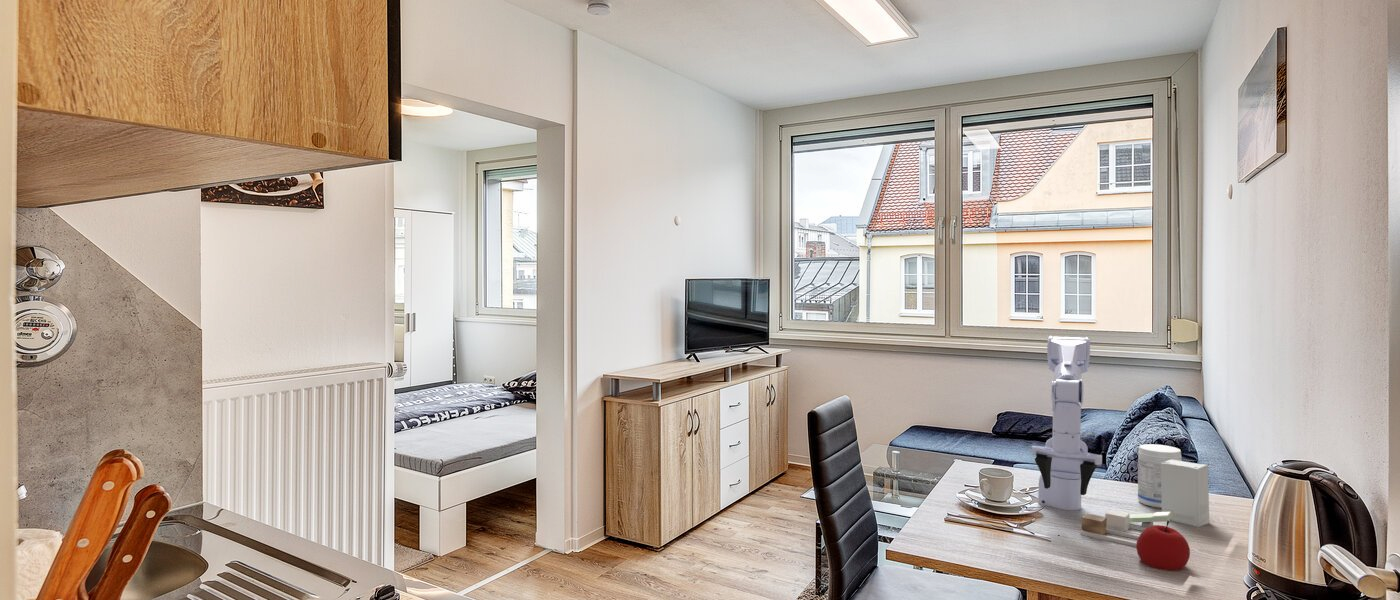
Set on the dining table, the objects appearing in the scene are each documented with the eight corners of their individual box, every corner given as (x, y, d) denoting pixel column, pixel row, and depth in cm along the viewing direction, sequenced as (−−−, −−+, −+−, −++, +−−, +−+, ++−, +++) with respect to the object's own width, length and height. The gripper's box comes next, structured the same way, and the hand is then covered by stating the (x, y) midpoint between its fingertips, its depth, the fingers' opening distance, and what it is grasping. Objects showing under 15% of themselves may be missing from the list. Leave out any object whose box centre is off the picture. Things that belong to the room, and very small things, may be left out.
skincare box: (1209, 528, 171) (1211, 465, 171) (1197, 532, 168) (1199, 468, 168) (1170, 518, 178) (1172, 457, 178) (1158, 522, 175) (1160, 460, 175)
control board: (1064, 537, 164) (1064, 524, 164) (1092, 515, 180) (1092, 503, 180) (1168, 561, 151) (1168, 547, 151) (1188, 534, 167) (1188, 522, 167)
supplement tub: (1159, 497, 195) (1160, 443, 195) (1190, 508, 186) (1191, 451, 186) (1128, 499, 193) (1129, 444, 193) (1158, 510, 184) (1159, 452, 184)
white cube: (1105, 528, 167) (1105, 513, 167) (1109, 524, 170) (1110, 509, 170) (1124, 532, 164) (1125, 517, 164) (1129, 528, 167) (1129, 513, 167)
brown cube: (1081, 532, 164) (1082, 517, 163) (1086, 528, 166) (1087, 513, 166) (1101, 537, 161) (1101, 521, 161) (1106, 532, 164) (1106, 517, 164)
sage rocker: (1124, 522, 168) (1122, 517, 169) (1128, 518, 171) (1127, 513, 172) (1168, 521, 162) (1167, 515, 163) (1172, 517, 165) (1170, 511, 166)
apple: (1135, 558, 152) (1136, 510, 152) (1187, 566, 148) (1188, 517, 148) (1136, 573, 144) (1137, 523, 144) (1191, 583, 140) (1192, 531, 140)
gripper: (1027, 429, 169) (1026, 488, 170) (1096, 438, 160) (1095, 500, 160) (1037, 425, 175) (1036, 482, 175) (1104, 434, 165) (1103, 494, 165)
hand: (1065, 490), depth 168 cm, fingers open, 7 cm apart
